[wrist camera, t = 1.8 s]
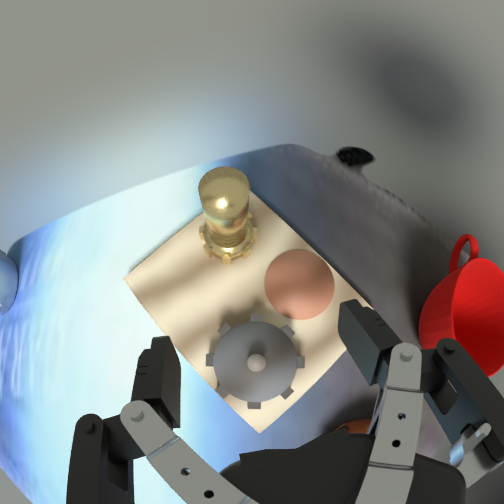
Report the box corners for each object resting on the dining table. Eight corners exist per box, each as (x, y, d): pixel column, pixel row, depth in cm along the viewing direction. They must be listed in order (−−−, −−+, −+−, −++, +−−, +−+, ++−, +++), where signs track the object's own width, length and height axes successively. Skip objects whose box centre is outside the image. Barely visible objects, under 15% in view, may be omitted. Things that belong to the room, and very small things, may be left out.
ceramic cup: (463, 261, 32) (506, 235, 23) (464, 374, 26) (515, 371, 17) (398, 248, 32) (441, 213, 23) (394, 381, 26) (447, 385, 17)
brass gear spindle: (190, 236, 30) (170, 186, 21) (231, 204, 32) (228, 146, 22) (226, 275, 29) (219, 237, 19) (268, 239, 30) (279, 188, 21)
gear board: (127, 282, 29) (109, 269, 25) (241, 189, 34) (241, 165, 30) (258, 429, 24) (262, 444, 20) (370, 314, 29) (391, 306, 24)
